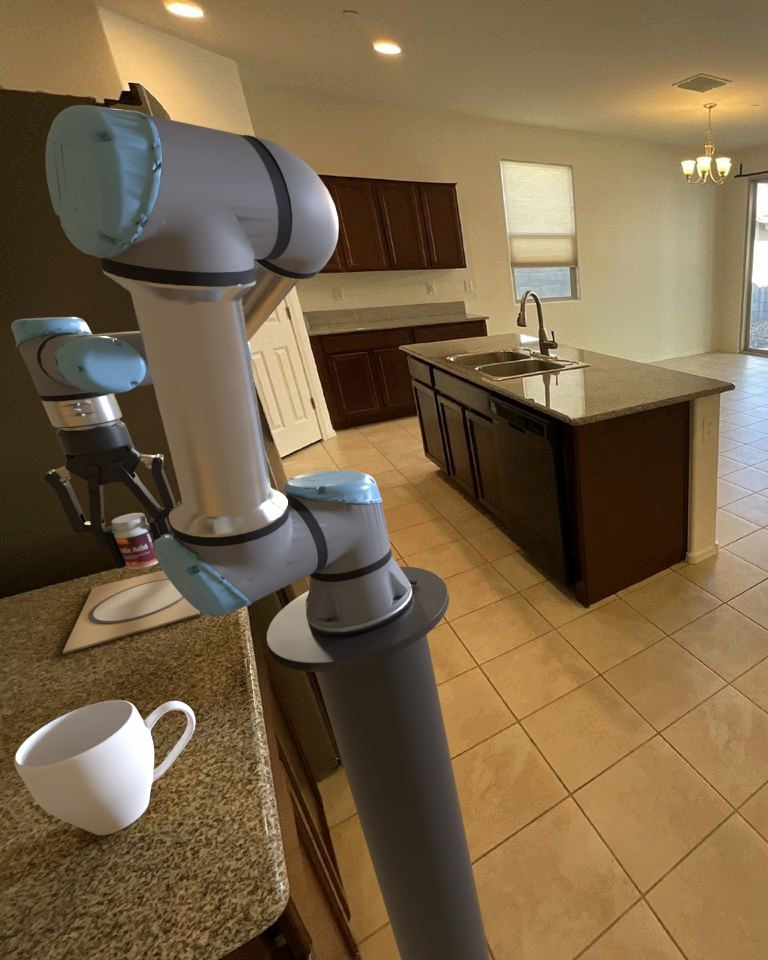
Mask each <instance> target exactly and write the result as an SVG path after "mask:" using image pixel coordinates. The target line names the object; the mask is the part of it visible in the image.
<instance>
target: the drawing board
mask: <svg viewBox="0 0 768 960" xmlns="http://www.w3.org/2000/svg"><path fill="white" fill-rule="evenodd" d="M90 590H91V591H90V593H89V595H88V597H87V598H86V601H85V603H84V605H83V607H82V610H81V612H80V614H79V616H78V618H77V620H76V622H75V624H74V627H73V629H72V630H71V633H70V635H69V637H68V639H67V641H66V644H65V646H64V648H63V650H62V654H63V655H66V654H70V653H73V652H77V651H80V650H84V649H87V648H90V647H93V646H97V645H100V644H101V645H102V644H104V643H107V642H111V641H115V640H118V639H121V638H125V637H128V636H132V635H136V634H140V633H143V632H146V631H149V630H153V629H156V628H161V627H164V626H167V625H171V624H174V623H177V622H181V621H184V620H187V619H188V620H189V619H192V618H195V617H198V616H200V615H201V612H200V611H199V610H197V609H196V608H195V607H193V606H192V605H191V604H190V603H189V602H188V601H187V600H186V599H185V598H184V597H183V596H182V595H181V594H180V593H179V591H178V590H177V589H176V588H175V587H174V585H173V584H172V583H171V581H170V580H169V579H168V577H167V576H166V574H165V573H164V571H163V570H162V569H161V570H159V571H155V572H151V573H150V572H149V573H147V574H146V573H145V574H142V575H138V576H134V577H130V578H126V579H121V580H118V581H114V582H109V583H105V584H101V585H97V586H92V588H91V589H90Z"/></svg>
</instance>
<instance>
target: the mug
mask: <svg viewBox="0 0 768 960" xmlns="http://www.w3.org/2000/svg"><path fill="white" fill-rule="evenodd" d="M171 711H180V712H183V713H184V714H185V716H186V719H187V726H186V728H185V730H184V732H183V733H182V735H181V737H180V738H179V739H178V741H177V743H176V744H175V746H174V747H173V748H172V750H171V751H170V752H169V753H168V754H167V756H166V757H165V759H164V760H163V761H162V762H161V763H160V765H158V766H157V767H155V768H154V766H155V747H154V741H153V737H152V733H151V731H152V729H153V728H154V726H155V724H157V722H158V721H159V719H160V718H161V717H163V715H165V714H166V713H168V712H171ZM195 728H196V716H195V714H194V711H193V710H192V708H191V707H190V706H189V705H187V704H186V703H185V702H182V701H178V700H169V701H167V702H164V703H162V704H161V705H159V706H157V708H156V709H154V710H153V711H152V712H151V713H150V714H149V715H148V716H147V717H146V718H145V719H143V718H142V716H141V714H140V713H139V711H138V709H137V707H136V706H135V705H134V704H133V703H132V702H130V701H127V700H122V699H112V700H111V699H110V700H104V701H99V702H95V703H91V704H88V705H85V706H82V707H79V708H77V709H74V710H72V711H70V712H67V713H65V714H63V715H61V716H59V717H57V718H55V719H54V720H52V721H50V722H48V723H47V724H45V725H43V726H42V727H41V728H39V729H38V730H36V731H35V732H34V733H32V734H31V735H29V737H27V739H26V740H24V742H23V743H22V744H20V746H19V748H18V749H17V750H16V752H15V754H14V757H13V758H14V759H13V764H14V767H15V769H16V772H17V774H18V775H19V776H20V778H21V781H23V783H24V785H25V787H26V788H27V790H28V791H29V793H30V795H31V796H32V798H33V799H34V801H35V802H36V804H38V805H39V806H40V808H41V809H43V810H44V811H45V812H46V813H48V814H50V815H51V816H53V817H55V818H57V819H58V820H61V821H63V822H66V823H68V824H71V826H75V827H77V828H79V829H81V830H83V831H86V832H89V833H91V834H93V835H97V836H107V835H111V834H114V833H117V832H119V831H121V830H123V829H125V828H127V827H128V826H131V824H133V823H134V822H135V821H137V820H138V819H139V818H140V817H141V816H142V815H143V814H144V813H145V812H146V810H147V809H148V807H149V805H150V796H151V790H152V785H153V783H154V782H155V781H157V780H158V779H159V778H161V777H162V776H163V775H164V774H165V773H166V772H167V770H169V768H170V767H171V766H172V764H174V762H175V761H176V759H177V758H178V756H180V754H181V753H182V751H183V750H184V749H185V747H186V746H187V744H188V743H189V741H190V740H191V738H192V736H193V735H194V732H195Z"/></svg>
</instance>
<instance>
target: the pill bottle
mask: <svg viewBox="0 0 768 960" xmlns="http://www.w3.org/2000/svg"><path fill="white" fill-rule="evenodd" d="M110 522H111V526H113V529H114V531H115V532H114V538H115V541H116V543H117V545H118V548H119V550H120V553H121V555H122V557H123V560H124V562H125V567H126V568H127V569H128V570H142V569H146V568H147V569H148V568H150V567H153V566H156V565H157V564H159V563H158V561H157V559H156V556H155V554H154V551H153V544H154V542H155V538H154V535H153V533H152V530H151V528H150V525H149V522H148V519H147V517H146V514H145V513H143V512H133V513H127V514H123V515H120V516H117V517H115V518H113V519H112V520H111V521H110Z"/></svg>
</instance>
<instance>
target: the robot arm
mask: <svg viewBox="0 0 768 960" xmlns="http://www.w3.org/2000/svg"><path fill="white" fill-rule="evenodd" d="M45 143H46V144H45V173H46V174H45V175H46V181H47V182H46V183H47V187H48V193H49V197H50V200H51V201H50V202H51V204H52V208H53V211H54V213H55V215H56V216H57V217H59V219H60V226H61V229H62V231H63V232H64V234H65V236H66V237H67V239H68V240H69V241H70V243H71V244H72V245H73V246H74V247H75V248H76V249H78V250H79V251H81V253H84V254H85V255H89V256H93V257H94V258H99V261H100V266H101V270H102V272H103V274H104V275H105V276H107V277H108V278H109V279H111V280H113V281H114V282H116V283H117V284H118V285H120V286H121V287H122V288H124V289H125V290H127V291H128V292H129V293H130V295H131V299H132V305H133V308H134V313H135V316H136V320H137V324H138V329H139V330H137V331H120V332H105V333H93V332H92V331H91V329H90V327H89V325H88V324H87V322H86V321H85V320H84V319H83V318H81V317H76V316H55V317H34V318H31V317H30V318H19V319H16V320H14V321H12V323H11V324H10V325H11V326H10V328H11V331H12V334H13V337H14V340H15V347H16V349H17V350H18V351H19V352H20V354H21V356H22V358H23V361H24V364H25V365H26V368H27V370H28V372H29V374H30V378H31V379H32V381H33V384H34V386H35V388H36V390H37V393H38V394H39V396H40V399H41V403H42V406H43V407H44V409H45V412H46V415H47V416H48V419H49V421H50V423H51V425H52V427H54V428H58V429H57V430H56V432H55V436H56V437H57V440H58V442H59V444H60V447H61V449H62V451H63V454H64V456H65V462H64V465H63V466H61V467H58V468H57V469H50V470H48V471H47V472H46V473H45V474H44V476H43V480H44V481H45V482H46V483H47V484H48V485H50V486H51V487H52V488H53V489H54V491H55V492H56V495H57V497H58V499H59V501H60V504H61V506H62V508H63V511H64V512H65V515H66V518H67V520H68V522H69V524H70V526H71V529H72V530H73V532H74V533H77V534H78V533H83V532H84V533H91V534H93V536H94V538H95V540H96V542H97V545H98V547H99V549H100V550H101V551H102V552H103V551H107V550H109V551H110V553H111V555H112V558H113V561H114V563H115V565H116V568H117V569H124V568H125V567H126V565H125V562H124V560H123V557H122V555H121V553H120V550H119V548H118V545H117V543H116V541H115V538H114V532H115V531H116V530H114V528H113V526H112V525H109V526H105V525H106V522H105V521H106V520H105V501H104V500H105V498H104V485H108V484H111V483H122V484H123V485H124V486H125V487H126V488H128V490H130V492H131V493H132V494H133V496H134V497H135V498H136V499H137V501H138V502H139V503H140V504H141V506H142V507H143V508H144V509H145V510H146V512H147V513H148V514H149V515H150V519H149V522H148V523H149V525H150V528H151V530H152V533H153V535H154V538H155V542H154V544H153V551H154V554H155V556H156V559H157V561H158V563H157V564H158V565H159V567H160V569H161V571H162V570H163V571H164V573H165V574H166V576H167V577H168V579H169V580H170V581H171V583H172V584H173V585H174V587H175V588H176V589H177V590H178V591H179V593H180V594H181V595H182V596H183V597H184V598H185V599H186V600H187V601H188V602H189V603H190V604H191V605H192V606H193V607H195V608H196V609H197V610H199V611H200V613H202V614H204V615H206V616H209V617H221V616H226V615H227V614H231V613H232V612H234V611H235V612H236V611H237V610H239V609H242V608H245V607H249V606H252V604H253V603H254V602H257V601H259V600H261V599H263V598H265V597H267V596H269V595H271V594H273V593H276V592H278V591H279V590H281V589H283V588H286V587H288V586H290V585H292V584H295V583H296V582H298V581H300V580H303V579H304V578H306V577H309V585H308V591H309V592H308V596H307V599H306V603H307V608H306V617H307V621H308V624H309V627H310V629H311V630H312V631H313V632H315V633H316V634H318V635H321V636H326V637H349V636H355V635H360V634H364V633H367V632H370V631H373V630H376V629H378V628H381V627H383V626H385V625H387V624H389V623H391V622H392V621H394V620H395V619H397V618H398V617H400V616H401V615H402V614H403V613H404V612H405V611H406V610H407V609H408V608H409V607H410V605H411V603H412V601H413V593H412V588H411V585H416V584H417V580H414V579H407V578H406V576H405V575H404V573H403V572H402V570H401V569H400V567H399V566H400V565H399V564H398V563H397V561H396V560H395V558H394V556H393V552H392V547H391V541H390V536H389V533H388V527H387V523H386V517H385V513H384V507H383V504H382V503H383V498H382V496H381V493H380V490H379V487H378V484H377V481H376V480H375V479H374V478H373V476H371V475H369V474H367V473H365V472H361V471H356V470H324V471H314V472H307V473H304V474H298V475H295V476H293V477H290V478H289V479H288V480H286V481H285V483H284V488H283V491H284V493H286V494H283V493H282V492H281V491H279V490H276V489H275V488H272V486H271V480H270V473H269V467H268V460H267V454H266V448H265V441H264V435H263V429H262V422H261V421H262V420H261V415H260V409H259V402H258V397H257V390H256V383H255V378H254V371H253V366H252V358H253V352H252V347H251V345H250V340H251V339H252V338H253V337H254V336H255V334H256V333H257V332H258V331H259V330H260V328H261V327H262V326H263V325H264V323H265V322H266V321H267V320H268V319H269V317H270V316H271V315H272V314H273V313H274V312H275V310H276V309H277V308H278V307H279V306H280V304H281V303H282V302H283V301H284V300H285V298H286V297H287V296H288V295H289V293H290V292H291V291H292V290H293V289H294V287H295V286H296V285H297V284H298V282H299V281H306V280H310V279H312V278H314V277H315V276H317V275H318V274H319V273H320V272H321V271H322V269H323V268H324V267H325V266H326V264H327V263H328V262H329V260H330V259H331V257H332V256H333V254H334V252H335V250H336V246H337V243H338V240H339V228H340V227H339V216H338V213H337V209H336V204H335V203H334V200H333V198H332V196H331V194H330V191H329V190H328V188H327V187H326V185H325V184H324V182H323V181H322V179H321V178H320V176H319V175H318V174H317V173H316V172H315V170H313V168H312V167H311V166H310V165H309V164H307V163H306V162H305V161H304V160H303V159H302V158H300V157H299V156H297V155H296V154H295V153H293V152H292V151H291V150H289V149H287V148H286V147H284V146H282V145H280V144H278V143H277V142H274V141H272V140H268V139H265V138H262V137H258V136H253V135H249V134H239V133H235V132H231V131H226V130H221V129H216V128H211V127H206V126H202V125H197V124H192V123H187V122H183V121H178V120H174V119H168V118H164V117H159V116H155V115H151V114H145V113H143V112H140V111H138V110H135V109H134V110H126V109H118V108H111V107H104V106H96V105H88V104H78V105H72V106H69V107H66V108H65V109H63V110H61V112H59V113H58V114H57V115H56V117H54V120H53V121H52V123H51V126H50V129H49V131H48V135H47V137H46V142H45ZM151 385H153V388H154V393H155V398H156V401H157V404H158V409H159V413H160V417H161V422H162V425H163V429H164V433H165V437H166V441H167V445H168V449H169V453H170V457H171V462H172V466H173V469H174V473H175V478H176V482H177V485H178V491H179V494H180V497H181V500H180V501H178V502H176V500H175V497H174V494H173V491H172V489H171V485H170V483H169V481H168V478H167V475H166V473H165V469H164V461H165V456H164V455H163V454H162V453H157V454H155V455H153V454H144V453H142V452H141V451H139V450H138V449H137V448H136V447H135V445H134V443H133V440H132V438H131V435H130V432H129V429H128V428H127V424H126V423H125V422H123V421H122V420H120V419H121V418H123V414H122V411H121V408H120V406H119V404H118V401H117V398H116V396H115V394H121V393H125V392H129V391H131V390H132V389H134V388H137V387H143V386H151ZM140 462H141V463H143V464H144V465H145V466H144V467H146V469H148V470H150V471H151V475H152V478H153V481H154V484H155V486H156V489H157V491H158V495H159V497H160V499H161V502H162V505H163V507H162V506H160V504H159V503H158V501H157V500H156V499H155V497H154V496H153V495H152V494H151V492H149V490H148V489H147V487H146V486H145V485H144V484H143V482H142V481H141V480H140V477H139V476H138V475H137V473H136V472H135V471H136V469H137V467H138V466H139V465H140ZM70 473H71V474H74V476H77V477H78V478H80V479H82V480H84V481H86V482H87V491H88V501H89V519H90V521H88V520H87V518H86V516H85V513H84V512H83V509H82V507H81V504H80V503H79V502H80V501H79V500H78V497H77V496H76V492H75V490H74V488H73V486H72V484H71V482H70V480H71V475H70ZM167 517H168V519H169V522H168V519H167ZM305 606H306V605H305Z"/></svg>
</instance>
